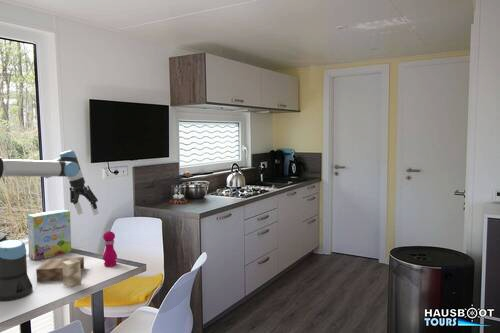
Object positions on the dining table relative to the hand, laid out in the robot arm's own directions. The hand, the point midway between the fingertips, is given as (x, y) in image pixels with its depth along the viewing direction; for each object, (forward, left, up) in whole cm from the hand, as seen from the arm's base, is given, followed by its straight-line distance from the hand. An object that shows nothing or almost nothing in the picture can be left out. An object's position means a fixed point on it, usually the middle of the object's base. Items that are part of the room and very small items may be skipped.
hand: (88, 214), depth 218 cm
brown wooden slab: (-10, -20, -27) cm, 35 cm away
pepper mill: (+12, -10, -27) cm, 31 cm away
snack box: (-26, +16, -27) cm, 41 cm away
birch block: (-1, -35, -27) cm, 44 cm away
